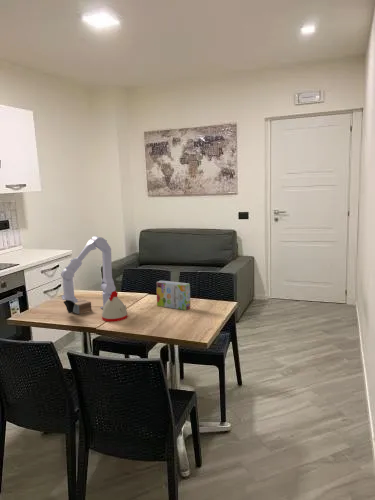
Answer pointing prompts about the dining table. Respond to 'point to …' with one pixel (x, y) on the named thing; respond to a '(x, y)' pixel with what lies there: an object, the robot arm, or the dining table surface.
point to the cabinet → (84, 305)
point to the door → (76, 308)
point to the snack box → (173, 294)
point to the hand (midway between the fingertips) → (70, 312)
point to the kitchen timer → (114, 309)
